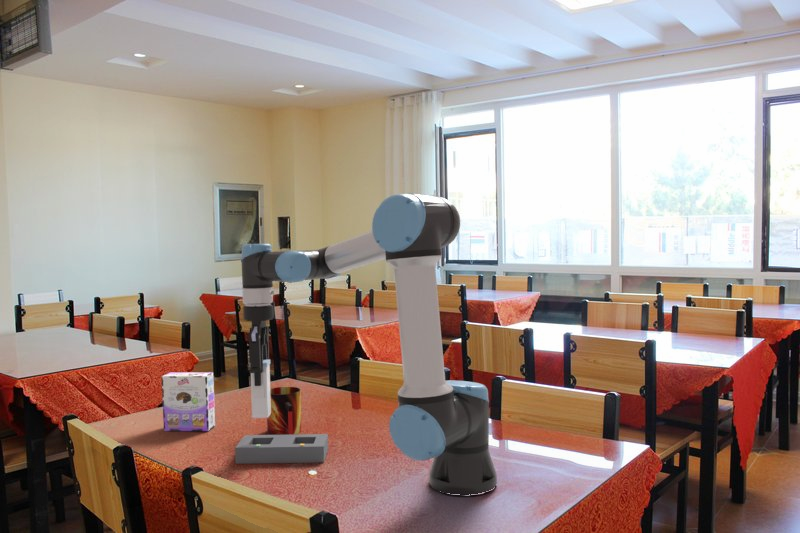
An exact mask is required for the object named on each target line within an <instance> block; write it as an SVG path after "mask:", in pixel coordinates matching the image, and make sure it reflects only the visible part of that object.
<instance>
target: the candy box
mask: <svg viewBox="0 0 800 533" xmlns="http://www.w3.org/2000/svg"><path fill="white" fill-rule="evenodd" d="M214 379H215V378H214V372H212V371H209V372H208V371H207V372H196V371H195V372H193V371H191V372H189V371H187V372H185V371H183V372H182V371H181V372H178V371H177V372H176V371H175V372H172V371H171V372H168V373H166V374H164V375H162V376H161V395H162V399H161V400H162V416H163V418H162V420H163V430H162V431H164V432H209V431H210V430H212V429H213V428H215V427H216V415H215V414H216V410H215V409H216V408H215V407H216V406H215V385H214V384H215V382H214V381H215V380H214Z"/></svg>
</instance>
